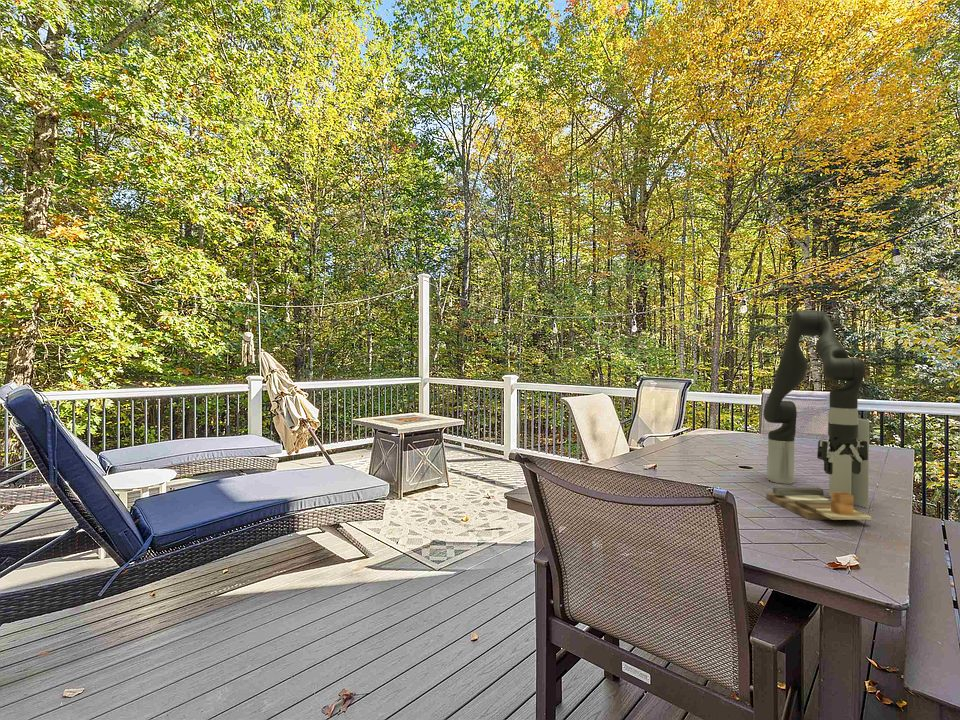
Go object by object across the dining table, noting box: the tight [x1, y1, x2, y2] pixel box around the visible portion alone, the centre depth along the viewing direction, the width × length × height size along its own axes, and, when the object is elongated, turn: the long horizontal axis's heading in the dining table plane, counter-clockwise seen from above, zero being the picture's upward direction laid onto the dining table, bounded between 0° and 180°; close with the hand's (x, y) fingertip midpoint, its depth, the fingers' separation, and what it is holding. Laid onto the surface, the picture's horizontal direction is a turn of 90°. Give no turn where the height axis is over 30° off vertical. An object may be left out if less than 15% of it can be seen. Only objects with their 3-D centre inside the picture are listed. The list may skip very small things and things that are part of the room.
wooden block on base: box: [816, 492, 872, 521], centre depth 151 cm, size 8×12×7 cm, turn 91°
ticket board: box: [765, 486, 865, 520], centre depth 165 cm, size 22×18×5 cm
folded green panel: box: [828, 417, 870, 509], centre depth 172 cm, size 14×6×30 cm, turn 168°
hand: (842, 473), depth 151 cm, fingers open, 8 cm apart
